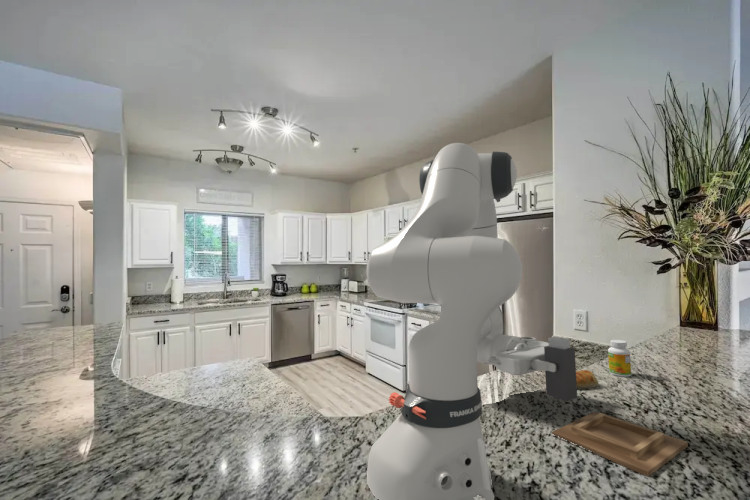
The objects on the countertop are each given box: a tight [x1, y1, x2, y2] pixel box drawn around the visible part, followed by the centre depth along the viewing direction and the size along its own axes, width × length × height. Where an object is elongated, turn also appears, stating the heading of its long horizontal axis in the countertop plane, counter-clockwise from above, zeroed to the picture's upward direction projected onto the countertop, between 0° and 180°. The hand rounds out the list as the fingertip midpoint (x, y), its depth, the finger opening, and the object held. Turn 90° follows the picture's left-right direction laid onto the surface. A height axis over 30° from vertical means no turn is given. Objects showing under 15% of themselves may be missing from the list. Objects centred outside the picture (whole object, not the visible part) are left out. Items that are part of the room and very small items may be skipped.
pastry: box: [576, 369, 599, 390], centre depth 96 cm, size 9×7×4 cm
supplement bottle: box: [607, 339, 632, 378], centre depth 104 cm, size 5×5×10 cm
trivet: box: [551, 411, 689, 477], centre depth 66 cm, size 16×16×2 cm
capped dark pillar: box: [544, 336, 578, 403], centre depth 80 cm, size 4×5×13 cm
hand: (563, 365), depth 79 cm, fingers closed on capped dark pillar, 4 cm apart
